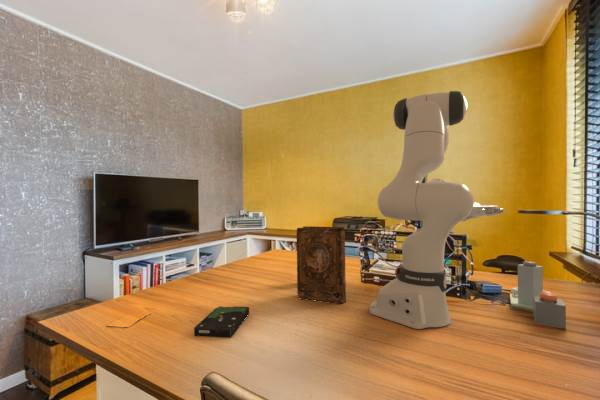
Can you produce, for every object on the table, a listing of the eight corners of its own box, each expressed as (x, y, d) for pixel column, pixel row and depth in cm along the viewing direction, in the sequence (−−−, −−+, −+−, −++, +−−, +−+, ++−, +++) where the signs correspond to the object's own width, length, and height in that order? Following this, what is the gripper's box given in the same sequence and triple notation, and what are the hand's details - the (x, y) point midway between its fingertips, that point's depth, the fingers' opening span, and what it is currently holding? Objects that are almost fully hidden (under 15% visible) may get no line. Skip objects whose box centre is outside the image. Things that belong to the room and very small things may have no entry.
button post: (535, 323, 75) (535, 301, 75) (533, 315, 80) (533, 294, 80) (566, 329, 71) (565, 305, 71) (561, 320, 76) (561, 298, 76)
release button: (540, 315, 75) (540, 295, 75) (539, 311, 78) (538, 291, 78) (558, 319, 73) (558, 297, 73) (556, 314, 76) (556, 293, 76)
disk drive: (231, 340, 70) (249, 315, 85) (231, 329, 70) (249, 306, 85) (193, 338, 71) (217, 314, 86) (193, 328, 71) (217, 305, 86)
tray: (511, 308, 85) (511, 303, 85) (510, 298, 93) (509, 293, 93) (554, 315, 79) (554, 310, 79) (549, 304, 87) (549, 299, 87)
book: (347, 299, 95) (346, 227, 95) (343, 305, 90) (342, 228, 90) (303, 293, 101) (302, 226, 101) (297, 299, 96) (296, 227, 96)
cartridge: (518, 302, 88) (517, 261, 88) (527, 300, 89) (526, 260, 89) (533, 307, 83) (533, 264, 83) (543, 305, 85) (542, 263, 85)
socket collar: (510, 293, 98) (510, 288, 98) (526, 290, 100) (525, 285, 100) (536, 301, 90) (536, 295, 90) (552, 297, 93) (552, 292, 93)
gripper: (439, 202, 107) (471, 202, 94) (477, 202, 114) (512, 202, 101) (439, 218, 107) (471, 221, 94) (477, 217, 114) (513, 219, 101)
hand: (493, 211), depth 98 cm, fingers open, 8 cm apart
